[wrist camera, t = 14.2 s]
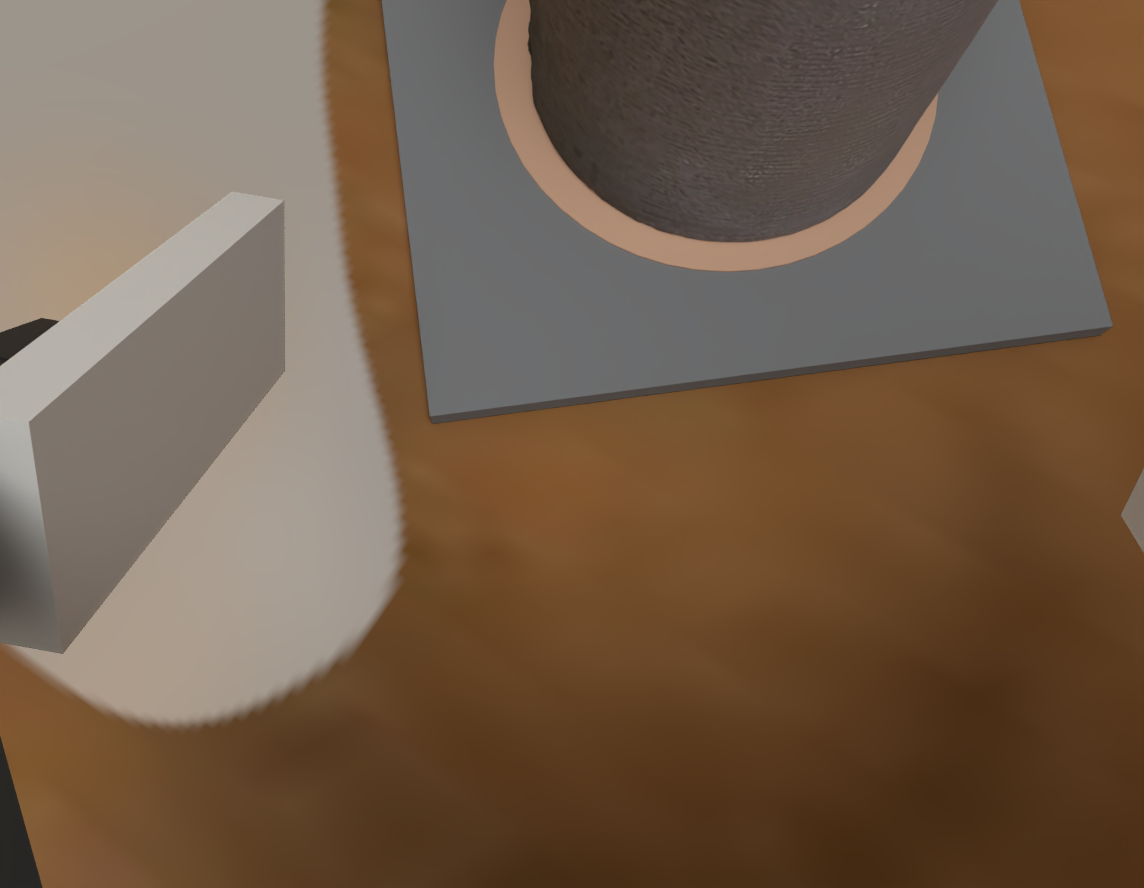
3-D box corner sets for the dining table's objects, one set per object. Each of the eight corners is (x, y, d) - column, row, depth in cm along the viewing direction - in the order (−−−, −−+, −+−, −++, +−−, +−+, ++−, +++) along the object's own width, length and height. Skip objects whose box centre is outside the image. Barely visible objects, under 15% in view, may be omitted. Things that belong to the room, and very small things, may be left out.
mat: (946, -207, 29) (955, -228, 28) (1100, 335, 25) (1115, 324, 25) (366, -148, 28) (361, -169, 28) (432, 424, 24) (429, 415, 24)
